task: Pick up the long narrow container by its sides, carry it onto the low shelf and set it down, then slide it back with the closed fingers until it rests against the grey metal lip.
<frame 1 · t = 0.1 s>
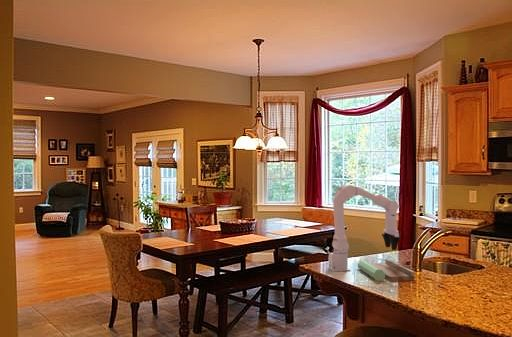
hand: (390, 248, 236), 10 cm above the counter, tool pointing down, fingers open, 7 cm apart
shelf: (389, 273, 223), on the counter
container: (369, 275, 222), on the counter
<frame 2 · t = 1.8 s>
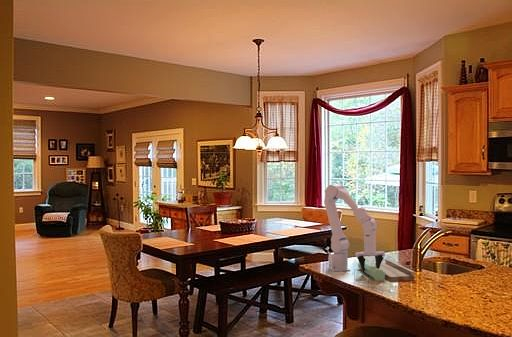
hand: (370, 270, 222), 2 cm above the counter, tool pointing down, fingers open, 7 cm apart
nothing on the counter moved.
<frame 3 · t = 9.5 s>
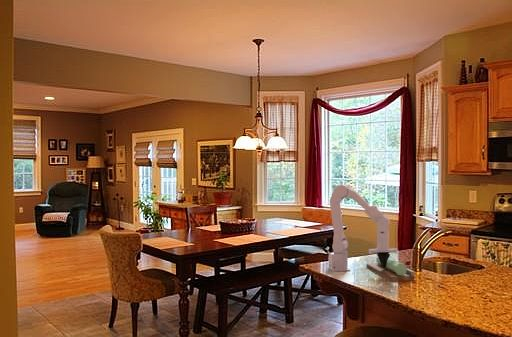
hand: (383, 267, 223), 3 cm above the counter, tool pointing down, fingers closed
container: (389, 269, 223), point 2 cm above the counter, touching gripper, shelf
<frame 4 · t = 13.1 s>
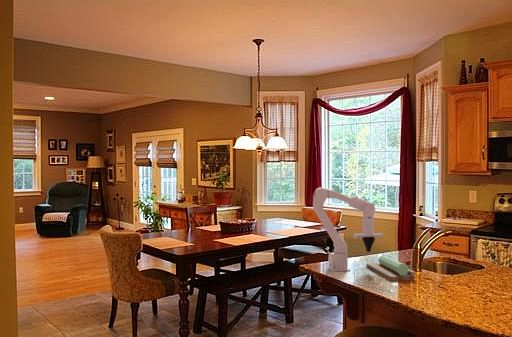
hand: (368, 251, 231), 9 cm above the counter, tool pointing down, fingers closed
container: (391, 269, 224), point 2 cm above the counter, touching shelf
at the end: container 0.6 cm from the target spot, point 1.8 cm above the counter; container tilted 1°; the gripper is holding nothing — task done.
